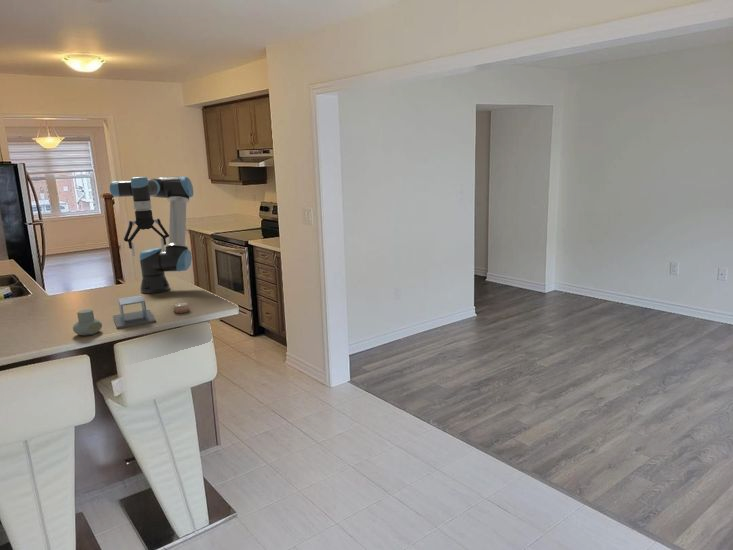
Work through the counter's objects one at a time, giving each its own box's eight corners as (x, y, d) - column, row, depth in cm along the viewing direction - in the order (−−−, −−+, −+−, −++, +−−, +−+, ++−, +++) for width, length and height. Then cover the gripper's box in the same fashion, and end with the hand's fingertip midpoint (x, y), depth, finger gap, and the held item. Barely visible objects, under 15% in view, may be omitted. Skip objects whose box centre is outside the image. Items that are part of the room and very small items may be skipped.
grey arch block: (120, 316, 241) (118, 298, 239) (143, 312, 246) (141, 295, 244) (123, 323, 231) (120, 304, 229) (147, 319, 236) (145, 300, 234)
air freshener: (92, 328, 228) (89, 306, 226) (106, 330, 225) (103, 308, 223) (70, 336, 219) (66, 314, 216) (84, 338, 215) (80, 315, 213)
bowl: (172, 311, 250) (171, 304, 249) (187, 308, 253) (186, 301, 252) (175, 314, 244) (174, 307, 243) (190, 312, 247) (190, 305, 247)
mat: (113, 317, 243) (112, 315, 243) (149, 311, 251) (149, 309, 251) (117, 329, 226) (116, 326, 226) (156, 322, 234) (155, 320, 234)
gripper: (115, 212, 239) (121, 258, 244) (171, 208, 251) (177, 251, 256) (113, 211, 246) (120, 255, 251) (169, 207, 258) (174, 249, 263)
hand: (148, 253), depth 253 cm, fingers open, 13 cm apart
